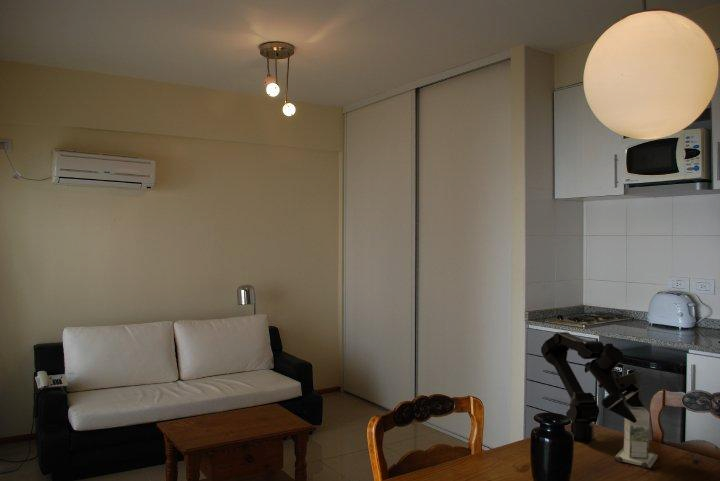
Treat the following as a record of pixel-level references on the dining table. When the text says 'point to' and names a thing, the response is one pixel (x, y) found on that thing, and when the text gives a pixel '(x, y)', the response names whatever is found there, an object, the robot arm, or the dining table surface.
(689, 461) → the dining table surface
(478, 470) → the dining table surface
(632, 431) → the syrup box
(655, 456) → the dolly
